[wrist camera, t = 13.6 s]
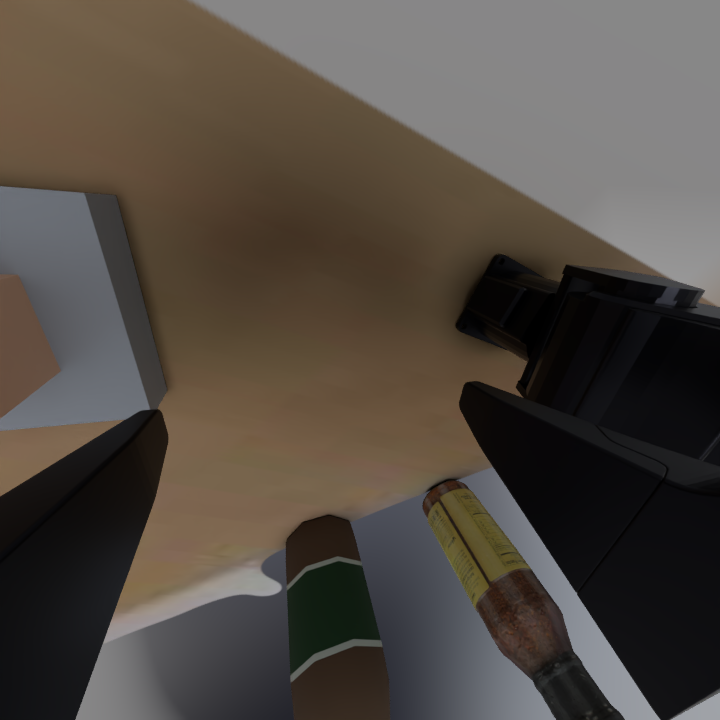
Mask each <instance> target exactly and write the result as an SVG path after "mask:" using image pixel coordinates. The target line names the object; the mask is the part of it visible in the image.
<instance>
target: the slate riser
mask: <svg viewBox="0 0 720 720" xmlns="http://www.w3.org/2000/svg"><path fill="white" fill-rule="evenodd" d="M0 274H8V275H19V278H20V280H21V282H22V284H23V287H24V289H25V291H26V293H27V296H28V298H29V300H30V302H31V305H32V307H33V309H34V311H35V314H36V316H37V318H38V320H39V323H40V325H41V327H42V329H43V332H44V334H45V336H46V338H47V341H48V343H49V345H50V347H51V350H52V352H53V354H54V356H55V359H56V361H57V363H58V365H59V368H60V370H61V371H60V372H59V373H58V374H57V375H55V376H54V377H53V378H52V379H50V380H49V381H48V382H46V383H45V384H44V385H43V386H41V387H40V388H39V389H38V390H36V391H35V392H34V393H32V394H31V395H30V396H29V397H27V398H26V399H25V400H24V401H22V402H21V403H20V404H18V405H17V406H16V407H15V408H13V409H12V410H11V411H9V412H8V413H7V414H6V415H4V416H3V417H2V418H1V419H0V431H4V430H15V429H26V428H37V427H47V426H58V425H69V424H80V423H91V422H102V421H113V420H124V419H127V418H129V417H131V416H132V415H134V414H135V413H137V412H139V411H141V410H150V409H157V408H158V406H159V404H160V403H161V401H162V399H163V397H164V396H165V394H166V392H167V387H166V384H165V380H164V376H163V372H162V368H161V365H160V361H159V357H158V353H157V349H156V346H155V342H154V338H153V334H152V330H151V327H150V323H149V319H148V315H147V311H146V308H145V304H144V300H143V296H142V292H141V289H140V285H139V281H138V277H137V273H136V270H135V266H134V262H133V258H132V254H131V251H130V247H129V243H128V239H127V235H126V232H125V228H124V224H123V220H122V216H121V213H120V209H119V205H118V201H117V197H116V195H107V194H95V193H82V192H70V191H57V190H45V189H32V188H20V187H7V186H0Z"/></svg>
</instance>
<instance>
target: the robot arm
mask: <svg viewBox="0 0 720 720" xmlns="http://www.w3.org/2000/svg"><path fill="white" fill-rule="evenodd" d="M500 259H501V262H500V263H499V260H500ZM562 274H564V275H563V278H562V280H561V282H558V281H554V280H550V279H546V278H544V277H542V276H540V275H539V274H537V273H535V272H533V271H532V270H530V269H528V268H527V267H525V266H523V265H521V264H520V263H518V262H516V261H515V260H513V259H511V258H509V257H508V256H506V255H503V254H498V255H496V256H495V257H494V259H493V260H492V262H491V264H490V266H489V268H488V269H487V271H486V273H485V275H484V276H483V278H482V280H481V282H480V283H479V285H478V287H477V289H476V291H475V292H474V294H473V296H472V298H471V299H470V301H469V303H468V305H467V306H466V308H465V310H464V312H463V314H462V315H461V317H460V319H459V321H458V322H457V325H456V328H457V329H458V330H459V331H460V332H462V333H465V334H468V335H470V336H473V337H475V338H478V339H480V340H483V341H485V342H488V343H490V344H493V345H495V346H498V347H500V348H503V349H506V350H509V351H510V352H512V353H514V354H515V355H517V356H519V357H520V358H522V359H524V360H525V361H527V362H528V363H527V365H526V367H525V370H524V372H523V375H522V377H521V380H519V381H518V383H517V385H516V388H517V390H518V391H519V392H520V394H521V395H522V396H523V398H522V397H519V396H517V395H514V394H511V393H509V392H506V391H503V390H500V389H498V388H495V387H492V386H489V385H487V384H484V383H481V382H478V381H473V382H467V383H465V384H464V387H463V390H462V394H461V398H460V401H459V407H460V410H461V412H462V414H463V416H464V418H465V420H466V421H467V423H468V425H469V427H470V429H471V431H472V433H473V435H474V437H475V439H476V440H477V442H478V444H479V446H480V447H481V449H482V451H483V452H484V454H485V455H486V457H487V458H488V460H489V461H490V463H491V464H492V466H493V467H494V469H495V470H496V472H497V473H498V475H499V477H500V478H501V480H502V481H503V483H504V484H505V485H506V487H507V489H508V490H509V492H510V493H511V495H512V496H513V498H514V499H515V501H516V502H517V504H518V505H519V507H520V508H521V510H522V511H523V513H524V514H525V516H526V517H527V519H528V521H529V522H530V524H531V525H532V527H533V528H534V530H535V531H536V533H537V534H538V536H539V537H540V539H541V540H542V542H543V543H544V545H545V546H546V548H547V549H548V551H549V552H550V554H551V555H552V557H553V558H554V560H555V561H556V563H557V564H558V566H559V567H560V569H561V570H562V572H563V574H564V575H565V576H566V578H567V580H568V581H569V583H570V584H571V586H572V587H573V589H574V590H575V592H577V595H578V597H579V598H580V600H581V601H582V603H583V604H584V606H585V607H586V609H587V610H588V612H589V613H590V615H591V616H592V618H593V619H594V621H595V622H596V624H597V625H598V627H599V629H600V630H601V632H602V633H603V634H604V636H605V638H606V639H607V641H608V642H609V644H610V645H611V647H612V648H613V650H614V651H615V653H616V654H617V656H618V657H619V659H620V660H621V662H622V663H623V665H624V666H625V668H626V669H627V671H628V672H629V674H630V676H631V677H632V679H633V680H634V682H635V683H636V685H637V686H638V688H639V689H640V691H641V692H642V694H643V695H644V697H645V698H646V700H647V701H648V703H649V704H650V706H651V707H652V709H653V710H654V711H655V713H656V714H657V716H658V717H659V718H660V719H661V720H671V719H673V718H674V717H676V716H678V715H680V714H682V713H683V712H685V711H687V710H689V709H691V708H692V707H694V706H696V705H698V704H700V703H701V702H703V701H705V700H706V699H709V698H710V697H712V696H714V695H716V694H718V693H719V692H720V307H716V306H711V305H706V304H701V303H698V301H699V299H700V298H701V296H702V295H703V293H704V292H705V290H703V289H700V288H696V287H693V286H689V285H686V284H683V283H680V282H676V281H673V280H670V279H666V278H663V277H657V276H651V275H645V274H639V273H633V272H627V271H621V270H613V269H603V268H594V267H584V266H575V265H566V266H565V268H564V270H563V273H562ZM463 324H464V326H463V327H462V325H463ZM167 445H168V432H167V429H166V425H165V422H164V418H163V415H162V412H161V411H160V410H159V409H150V410H141V411H139V412H137V413H135V414H134V415H132V416H131V417H129V418H127V419H126V420H124V421H122V422H121V423H119V424H118V425H116V426H114V427H113V428H111V429H109V430H108V431H106V432H105V433H103V434H101V435H100V436H98V437H96V438H95V439H93V440H92V441H90V442H88V443H87V444H85V445H83V446H82V447H80V448H79V449H77V450H75V451H74V452H72V453H70V454H69V455H67V456H66V457H64V458H62V459H61V460H59V461H57V462H56V463H54V464H53V465H51V466H49V467H48V468H46V469H44V470H43V471H41V472H40V473H38V474H36V475H35V476H33V477H31V478H30V479H28V480H27V481H25V482H23V483H22V484H20V485H18V486H17V487H15V488H14V489H12V490H10V491H9V492H7V493H5V494H4V495H2V496H1V497H0V720H75V719H76V716H77V713H78V711H79V708H80V705H81V702H82V699H83V697H84V694H85V691H86V688H87V686H88V683H89V680H90V677H91V674H92V671H93V669H94V666H95V663H96V661H97V658H98V655H99V653H100V649H101V647H102V644H103V641H104V639H105V636H106V633H107V630H108V628H109V625H110V622H111V619H112V617H113V614H114V611H115V608H116V606H117V603H118V600H119V597H120V594H121V592H122V589H123V586H124V583H125V581H126V578H127V575H128V572H129V570H130V567H131V564H132V561H133V559H134V556H135V553H136V550H137V548H138V545H139V542H140V539H141V536H142V534H143V531H144V528H145V525H146V523H147V520H148V517H149V514H150V512H151V509H152V506H153V503H154V500H155V497H156V493H157V489H158V485H159V480H160V476H161V472H162V467H163V463H164V458H165V454H166V450H167Z"/></svg>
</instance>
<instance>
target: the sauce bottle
mask: <svg viewBox="0 0 720 720" xmlns="http://www.w3.org/2000/svg"><path fill="white" fill-rule="evenodd" d="M423 510H424V513H425V515H426V517H427V518H428V523H429V525H430V527H431V528H432V530H433V532H434V534H435V536H436V538H437V540H438V541H439V543H440V545H441V547H442V548H443V550H444V552H445V554H446V556H447V558H448V560H449V562H450V563H451V565H452V567H453V569H454V571H455V572H456V574H457V576H458V578H459V580H460V582H461V583H462V585H463V587H464V589H465V591H466V593H467V594H468V597H469V598H470V600H471V602H472V604H473V606H474V608H475V610H476V611H477V612H478V613H479V614H480V616H481V618H482V619H483V621H484V623H485V625H486V627H487V629H488V631H489V633H490V634H491V636H492V638H493V640H494V641H495V643H496V645H497V646H498V648H499V650H500V651H501V652H502V653H503V655H504V656H506V657H507V658H508V659H510V660H511V661H512V662H513V663H514V664H515V665H516V666H517V667H518V668H519V669H520V670H522V671H523V672H524V673H525V674H526V675H527V676H528V677H529V678H530V679H531V680H533V682H534V685H535V687H536V689H537V690H538V691H539V692H540V693H541V695H542V696H543V698H544V700H545V702H546V703H547V705H548V707H549V708H550V710H551V712H552V714H553V715H554V717H555V718H556V720H625V719H624V718H623V716H622V715H621V714H620V712H619V711H617V710H616V709H615V708H614V707H613V706H612V705H611V704H610V703H609V701H608V700H607V699H606V697H605V696H604V695H603V693H602V692H601V690H600V689H599V687H598V686H597V685H596V683H595V682H594V680H593V679H592V678H591V676H590V675H589V673H588V672H587V670H586V669H585V668H584V666H583V664H582V662H581V660H580V659H579V658H578V656H577V655H576V654H575V653H574V651H573V649H572V646H571V642H570V639H569V636H568V632H567V629H566V626H565V623H564V619H563V614H562V613H561V611H560V609H559V607H558V606H557V604H556V603H555V602H554V601H553V599H552V598H551V596H550V595H549V594H548V592H547V591H546V589H545V588H544V587H543V585H542V584H541V583H540V581H539V580H538V579H537V577H536V576H535V574H534V573H533V571H532V570H531V568H530V567H529V566H528V564H527V563H526V561H525V560H524V559H523V557H522V556H521V555H520V554H519V552H518V551H517V549H516V548H515V547H514V545H513V544H512V543H511V542H510V540H509V539H508V538H507V536H506V535H505V534H504V532H503V531H502V530H501V528H500V527H499V526H498V525H497V523H496V522H495V521H494V519H493V518H492V517H491V516H490V514H489V513H488V512H487V510H486V509H485V508H484V506H483V505H482V504H481V502H480V501H479V500H478V499H477V497H476V496H475V495H474V493H473V492H472V491H471V490H469V488H468V487H467V486H466V485H465V484H464V483H462V482H459V481H455V480H454V481H446V482H444V483H442V484H440V485H439V486H436V487H435V488H433V489H432V490H431V491H430V492H429V493H428V494H427V496H426V497H425V499H424V501H423Z"/></svg>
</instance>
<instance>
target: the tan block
mask: <svg viewBox="0 0 720 720" xmlns="http://www.w3.org/2000/svg"><path fill="white" fill-rule="evenodd" d="M60 371H61V370H60V368H59V365H58V363H57V361H56V359H55V356H54V354H53V352H52V350H51V347H50V345H49V343H48V341H47V338H46V336H45V334H44V332H43V329H42V327H41V325H40V323H39V320H38V318H37V316H36V314H35V311H34V309H33V307H32V305H31V302H30V300H29V298H28V296H27V293H26V291H25V289H24V287H23V284H22V282H21V280H20V278H19V275H8V274H0V419H1V418H2V417H3V416H4V415H6V414H7V413H8V412H9V411H11V410H12V409H13V408H15V407H16V406H17V405H18V404H20V403H21V402H22V401H24V400H25V399H26V398H27V397H29V396H30V395H31V394H32V393H34V392H35V391H36V390H38V389H39V388H40V387H41V386H43V385H44V384H45V383H46V382H48V381H49V380H50V379H52V378H53V377H54V376H55V375H57V374H58V373H59V372H60Z"/></svg>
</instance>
